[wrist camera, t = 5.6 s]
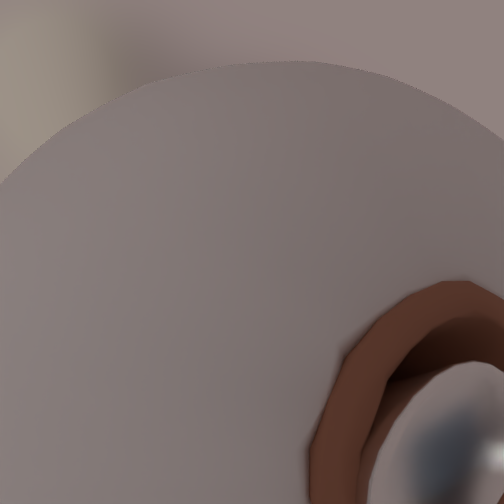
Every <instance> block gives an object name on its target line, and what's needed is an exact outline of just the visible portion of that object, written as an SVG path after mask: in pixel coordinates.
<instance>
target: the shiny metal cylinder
mask: <svg viewBox="0 0 504 504" xmlns="http://www.w3.org/2000/svg"><path fill="white" fill-rule="evenodd" d="M0 504H504V141H503V140H502V139H501V138H499V137H498V136H497V135H495V134H494V133H493V132H491V131H490V130H488V129H487V128H485V127H484V126H483V125H481V124H480V123H478V122H477V121H475V120H474V119H472V118H471V117H469V116H468V115H466V114H464V113H463V112H461V111H460V110H458V109H456V108H455V107H453V106H451V105H449V104H447V103H445V102H444V101H442V100H440V99H438V98H436V97H433V96H431V95H429V94H427V93H425V92H423V91H421V90H419V89H417V88H414V87H412V86H410V85H407V84H405V83H403V82H400V81H398V80H395V79H392V78H390V77H387V76H384V75H380V74H376V73H372V72H368V71H363V70H359V69H353V68H349V67H344V66H338V65H333V64H327V63H320V62H304V61H301V62H300V61H299V62H298V61H297V62H296V61H294V62H293V61H291V62H262V63H248V64H237V65H230V66H223V67H217V68H212V69H206V70H202V71H197V72H192V73H187V74H183V75H179V76H175V77H170V78H167V79H163V80H160V81H156V82H152V83H149V84H146V85H143V86H141V87H139V88H137V89H135V90H132V91H130V92H128V93H126V94H124V95H122V96H120V97H118V98H116V99H114V100H112V101H110V102H108V103H106V104H104V105H103V106H100V107H99V108H97V109H95V110H93V111H92V112H90V113H88V114H86V115H84V116H83V117H81V118H79V119H78V120H76V121H75V122H73V123H71V124H69V125H68V126H67V127H65V128H63V129H61V130H60V131H59V132H57V133H56V134H55V135H54V136H52V137H51V138H50V139H49V140H48V141H46V142H45V143H44V144H43V145H42V146H40V147H39V148H38V149H37V150H36V151H34V152H33V153H32V154H31V155H30V156H29V157H28V158H27V159H25V160H24V161H23V162H22V163H21V164H20V165H19V166H18V167H17V168H16V169H15V170H14V171H13V172H12V173H11V174H10V175H9V176H8V177H7V178H6V179H5V180H4V181H3V182H2V183H1V184H0Z"/></svg>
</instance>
